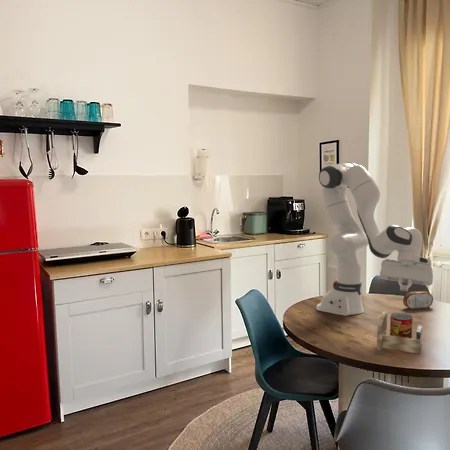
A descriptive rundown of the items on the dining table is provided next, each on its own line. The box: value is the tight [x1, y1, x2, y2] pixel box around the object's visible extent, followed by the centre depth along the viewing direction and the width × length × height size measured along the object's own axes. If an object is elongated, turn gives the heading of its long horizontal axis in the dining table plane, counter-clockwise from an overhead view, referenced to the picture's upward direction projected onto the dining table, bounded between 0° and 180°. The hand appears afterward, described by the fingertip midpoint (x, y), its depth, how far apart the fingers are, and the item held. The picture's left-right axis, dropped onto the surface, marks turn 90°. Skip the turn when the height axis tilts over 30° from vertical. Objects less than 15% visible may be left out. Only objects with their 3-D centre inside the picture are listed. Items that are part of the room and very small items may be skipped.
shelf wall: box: [376, 310, 421, 354], centre depth 168 cm, size 14×14×11 cm
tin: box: [402, 290, 434, 310], centre depth 216 cm, size 15×3×8 cm, turn 100°
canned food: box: [389, 312, 413, 339], centre depth 169 cm, size 8×8×12 cm
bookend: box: [415, 325, 423, 349], centre depth 168 cm, size 1×8×7 cm, turn 152°
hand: (403, 290), depth 177 cm, fingers closed
